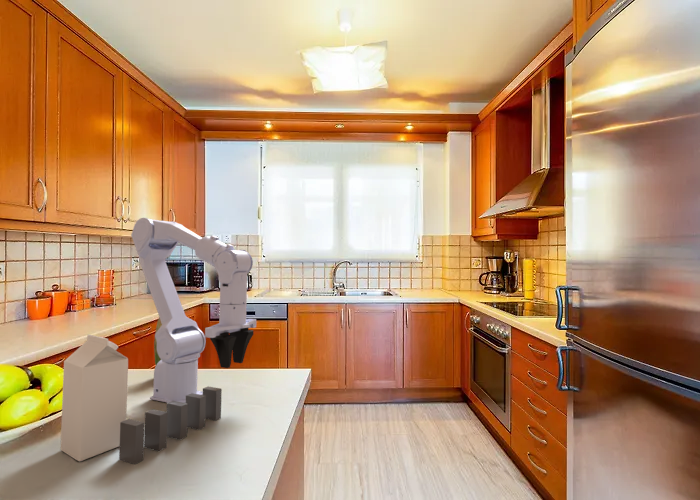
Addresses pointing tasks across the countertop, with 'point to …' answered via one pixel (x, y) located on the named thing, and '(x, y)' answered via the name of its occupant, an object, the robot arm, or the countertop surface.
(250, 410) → the countertop surface
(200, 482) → the countertop surface
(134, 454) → the domino end
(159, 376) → the robot arm
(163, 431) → the domino
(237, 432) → the countertop surface
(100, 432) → the milk carton
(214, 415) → the domino
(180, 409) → the domino
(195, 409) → the domino
